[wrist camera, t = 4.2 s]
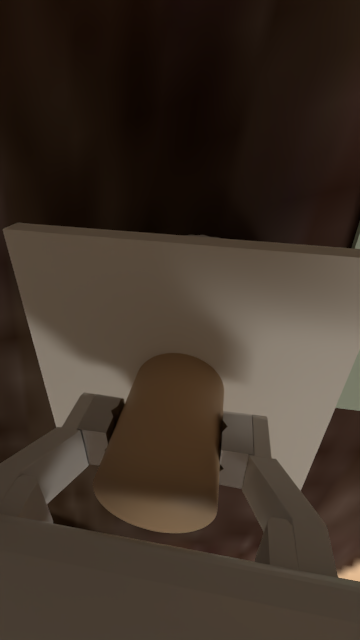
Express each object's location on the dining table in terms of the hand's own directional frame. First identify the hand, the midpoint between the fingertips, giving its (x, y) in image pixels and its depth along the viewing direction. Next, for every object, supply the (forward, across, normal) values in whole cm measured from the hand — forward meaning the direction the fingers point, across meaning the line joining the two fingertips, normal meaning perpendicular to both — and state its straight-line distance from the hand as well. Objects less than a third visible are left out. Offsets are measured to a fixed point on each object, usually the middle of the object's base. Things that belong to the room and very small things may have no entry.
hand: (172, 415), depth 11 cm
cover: (+2, 0, 0) cm, 2 cm away
